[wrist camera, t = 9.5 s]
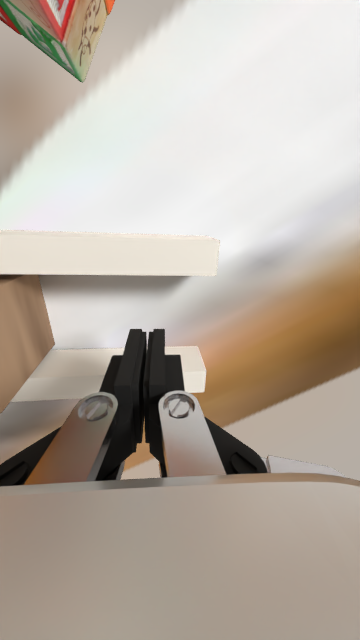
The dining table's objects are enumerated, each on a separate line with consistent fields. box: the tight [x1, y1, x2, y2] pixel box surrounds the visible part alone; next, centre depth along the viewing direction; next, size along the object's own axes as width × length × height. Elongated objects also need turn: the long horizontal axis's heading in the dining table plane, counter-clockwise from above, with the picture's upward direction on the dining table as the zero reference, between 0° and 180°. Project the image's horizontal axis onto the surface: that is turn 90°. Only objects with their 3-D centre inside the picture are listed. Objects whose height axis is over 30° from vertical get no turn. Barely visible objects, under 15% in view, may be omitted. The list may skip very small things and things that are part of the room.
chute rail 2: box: [10, 346, 206, 402], centre depth 17 cm, size 14×2×4 cm, turn 88°
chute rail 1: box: [0, 230, 220, 276], centre depth 13 cm, size 14×2×4 cm, turn 88°
